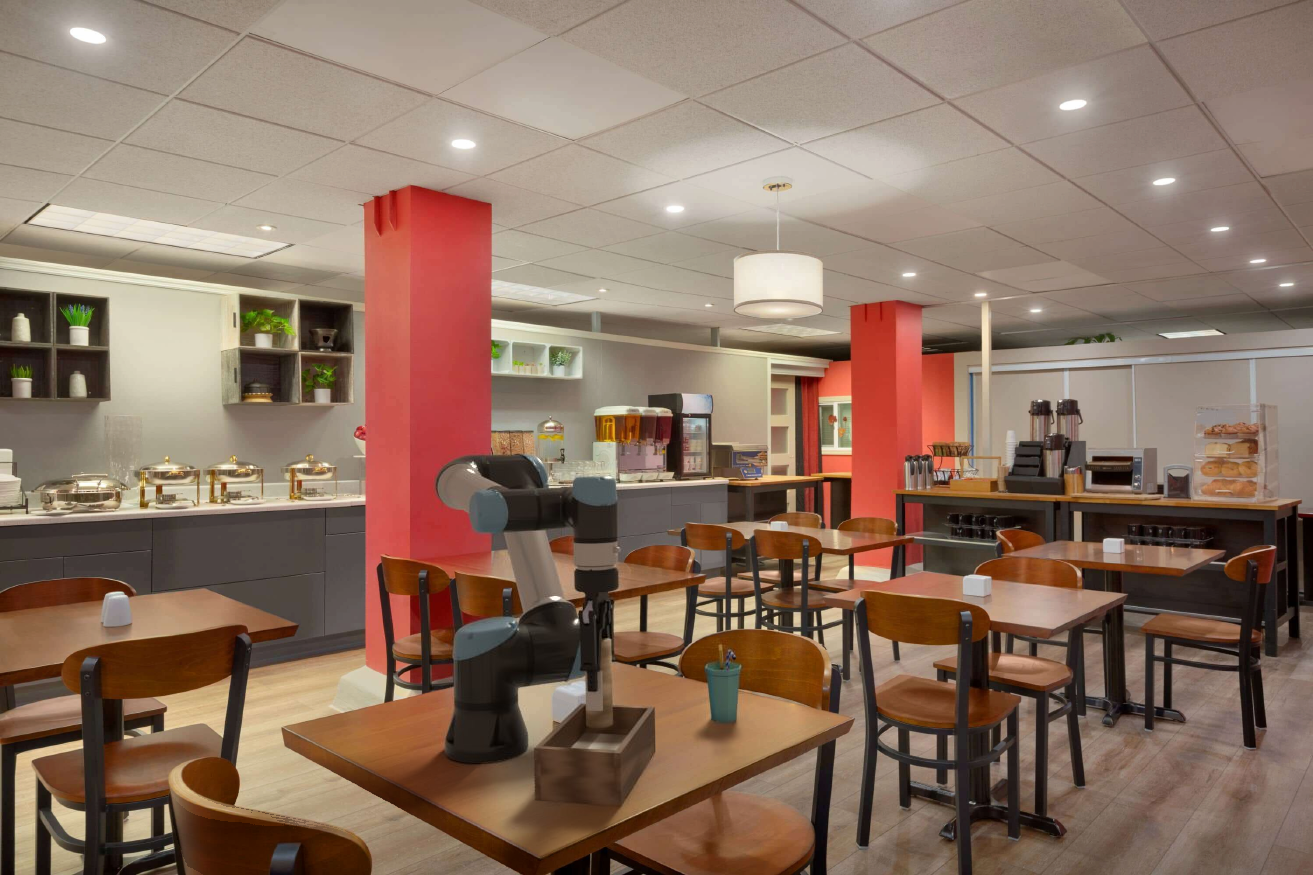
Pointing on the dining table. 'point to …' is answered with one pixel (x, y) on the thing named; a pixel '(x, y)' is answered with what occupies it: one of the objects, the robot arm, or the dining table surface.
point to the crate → (595, 757)
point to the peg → (606, 715)
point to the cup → (723, 687)
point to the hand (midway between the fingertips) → (599, 705)
